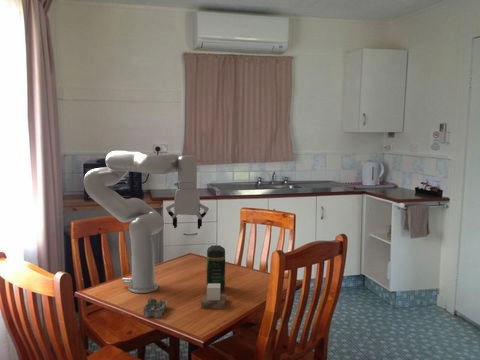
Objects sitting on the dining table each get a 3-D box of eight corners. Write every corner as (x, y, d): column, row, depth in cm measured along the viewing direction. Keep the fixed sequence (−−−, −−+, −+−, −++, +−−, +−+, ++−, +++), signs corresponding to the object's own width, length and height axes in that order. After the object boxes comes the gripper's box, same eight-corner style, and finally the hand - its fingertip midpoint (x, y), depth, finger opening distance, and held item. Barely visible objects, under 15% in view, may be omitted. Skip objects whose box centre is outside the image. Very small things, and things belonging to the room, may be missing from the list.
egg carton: (150, 306, 173) (150, 296, 172) (169, 307, 172) (169, 297, 171) (140, 317, 162) (140, 306, 162) (160, 319, 161) (160, 308, 161)
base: (201, 309, 171) (201, 302, 170) (204, 300, 180) (204, 293, 179) (224, 310, 170) (224, 302, 170) (226, 301, 179) (226, 294, 179)
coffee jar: (225, 292, 187) (225, 249, 185) (206, 292, 187) (206, 249, 185) (224, 284, 197) (225, 243, 195) (206, 285, 196) (206, 243, 194)
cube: (206, 300, 172) (206, 287, 171) (207, 295, 177) (207, 283, 176) (219, 300, 172) (219, 287, 171) (220, 295, 177) (220, 283, 176)
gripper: (164, 186, 176) (164, 229, 178) (207, 187, 175) (207, 230, 177) (168, 184, 183) (168, 225, 185) (209, 185, 183) (209, 226, 184)
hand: (187, 227), depth 181 cm, fingers open, 9 cm apart
